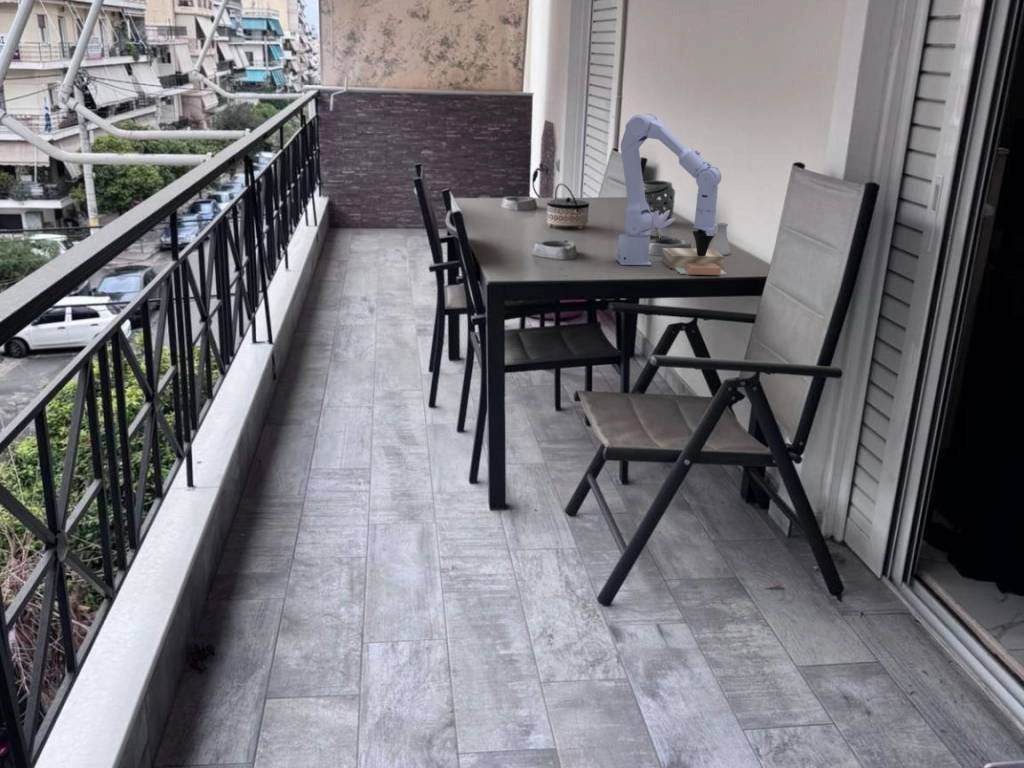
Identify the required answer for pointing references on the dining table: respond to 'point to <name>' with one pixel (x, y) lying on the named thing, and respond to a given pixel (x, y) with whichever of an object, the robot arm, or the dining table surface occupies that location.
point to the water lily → (660, 222)
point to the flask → (721, 240)
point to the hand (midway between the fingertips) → (701, 255)
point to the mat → (683, 271)
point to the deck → (690, 257)
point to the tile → (702, 268)
